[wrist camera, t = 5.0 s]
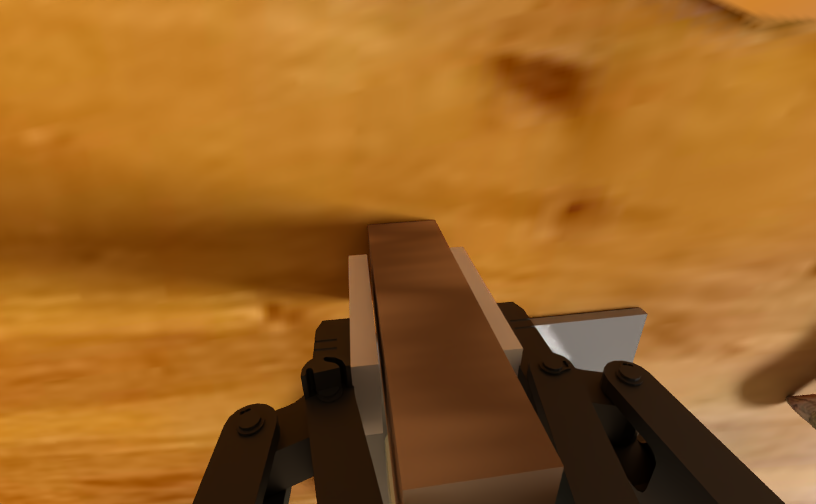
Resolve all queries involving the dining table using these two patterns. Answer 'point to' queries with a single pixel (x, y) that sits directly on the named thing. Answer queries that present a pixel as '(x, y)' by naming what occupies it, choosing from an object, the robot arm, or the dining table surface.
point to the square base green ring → (565, 335)
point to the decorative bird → (804, 407)
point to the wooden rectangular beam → (450, 383)
